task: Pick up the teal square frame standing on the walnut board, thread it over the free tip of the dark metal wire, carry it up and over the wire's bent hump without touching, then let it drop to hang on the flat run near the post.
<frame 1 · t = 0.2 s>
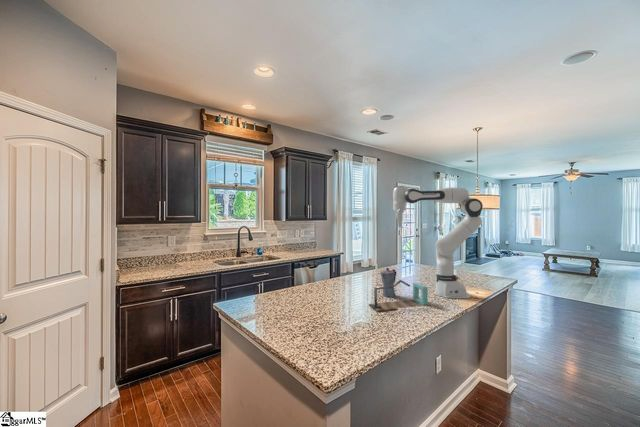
hand: (399, 227, 204), 47 cm above the worktop, fingers open, 8 cm apart
moka pot: (389, 296, 192), on the worktop
board: (399, 306, 172), on the worktop
teal square frame: (420, 302, 176), point 1 cm above the worktop, touching board
wire: (409, 305, 174), resting on board
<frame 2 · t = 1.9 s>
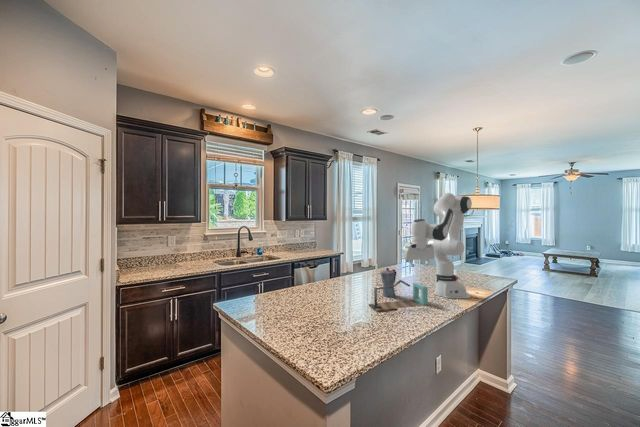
hand: (419, 266, 176), 24 cm above the worktop, fingers open, 8 cm apart
nothing on the worktop moved.
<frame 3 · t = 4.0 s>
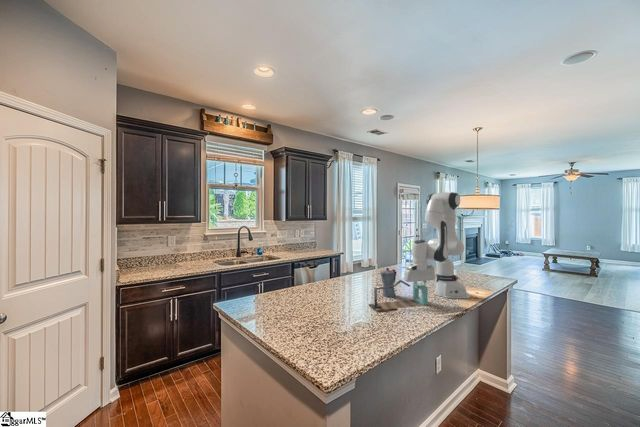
hand: (420, 287, 176), 10 cm above the worktop, fingers closed on teal square frame, 3 cm apart
teal square frame: (420, 302, 176), point 1 cm above the worktop, touching board, gripper
everything else where it was.
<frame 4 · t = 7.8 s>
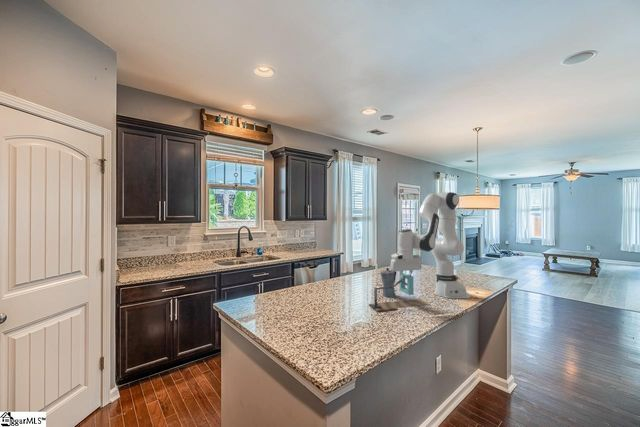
hand: (406, 277, 173), 17 cm above the worktop, fingers closed on teal square frame, 3 cm apart
teal square frame: (406, 292, 173), point 8 cm above the worktop, touching gripper
everything else where it was.
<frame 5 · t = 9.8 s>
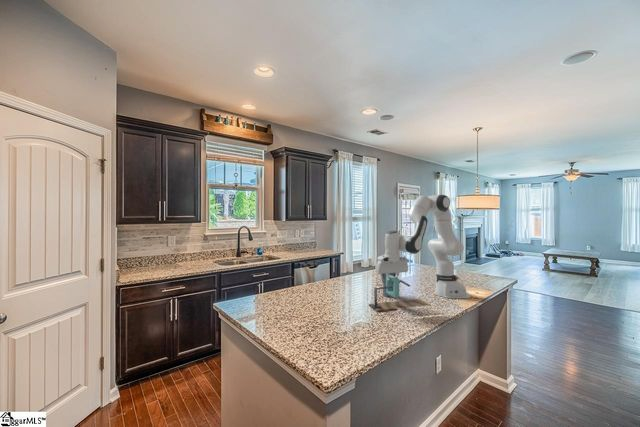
hand: (392, 280, 171), 16 cm above the worktop, fingers closed on teal square frame, 3 cm apart
teal square frame: (392, 295, 171), point 7 cm above the worktop, touching gripper
everything else where it was.
when the fingers open (14 cm above the worktop, at t = 11.6 s): teal square frame drops 1 cm, resting on wire.
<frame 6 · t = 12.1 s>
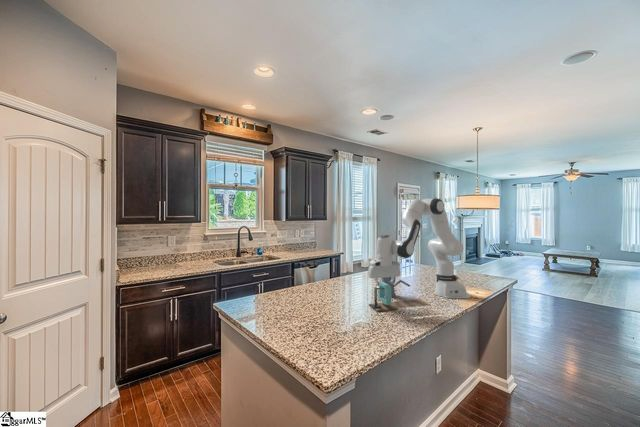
hand: (384, 284, 170), 14 cm above the worktop, fingers open, 8 cm apart
teal square frame: (384, 301, 170), point 3 cm above the worktop, touching wire
everything else where it was.
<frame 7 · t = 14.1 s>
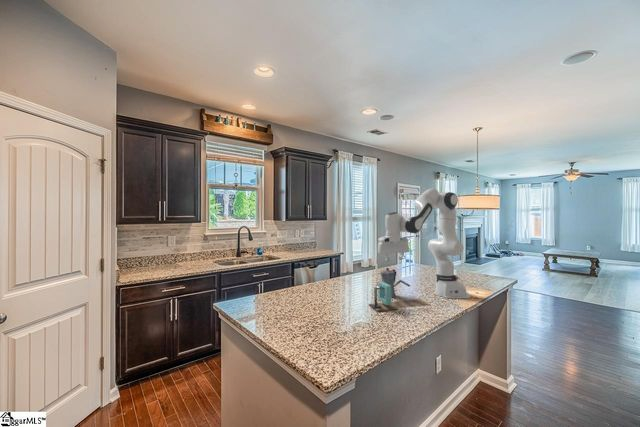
hand: (393, 260, 174), 28 cm above the worktop, fingers open, 8 cm apart
nothing on the worktop moved.
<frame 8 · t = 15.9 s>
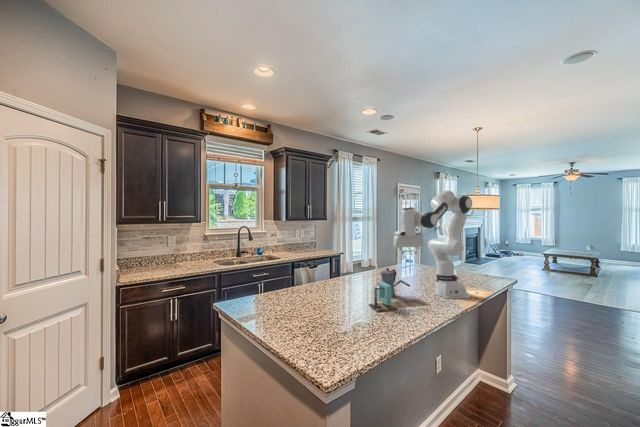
hand: (408, 253, 180), 31 cm above the worktop, fingers open, 8 cm apart
nothing on the worktop moved.
at the end: teal square frame inside the target area (0.6 cm from its centre), point 3.4 cm above the worktop; the gripper is holding nothing; teal square frame touching wire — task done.
